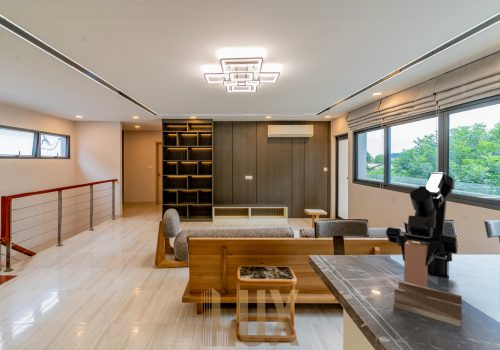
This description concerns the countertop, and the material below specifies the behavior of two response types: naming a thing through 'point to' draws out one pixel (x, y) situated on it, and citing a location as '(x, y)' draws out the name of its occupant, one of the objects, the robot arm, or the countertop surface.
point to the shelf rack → (429, 302)
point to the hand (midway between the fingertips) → (414, 262)
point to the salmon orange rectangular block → (415, 264)
